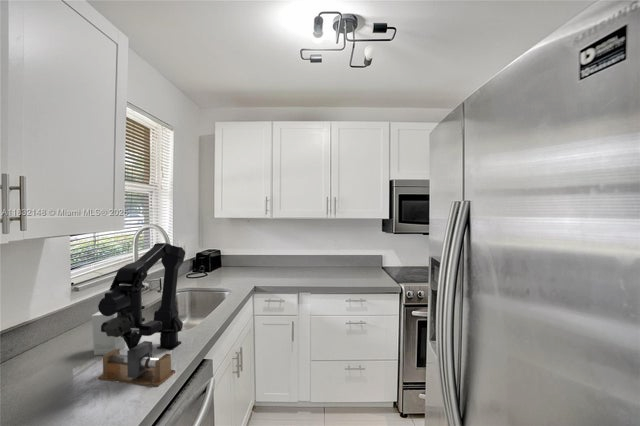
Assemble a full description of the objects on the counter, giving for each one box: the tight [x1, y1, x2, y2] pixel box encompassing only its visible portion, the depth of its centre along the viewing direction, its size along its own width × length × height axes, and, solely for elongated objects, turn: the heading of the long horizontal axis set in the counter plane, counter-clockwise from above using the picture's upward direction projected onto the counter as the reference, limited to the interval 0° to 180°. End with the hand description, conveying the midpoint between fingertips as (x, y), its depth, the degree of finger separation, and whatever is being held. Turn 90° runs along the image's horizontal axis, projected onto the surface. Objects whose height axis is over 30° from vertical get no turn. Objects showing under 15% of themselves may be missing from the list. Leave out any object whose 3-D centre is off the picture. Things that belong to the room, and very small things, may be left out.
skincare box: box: [91, 310, 126, 356], centre depth 116 cm, size 8×7×16 cm
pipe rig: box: [97, 349, 176, 388], centre depth 99 cm, size 22×8×7 cm, turn 79°
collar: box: [126, 340, 153, 378], centre depth 99 cm, size 3×7×8 cm, turn 169°
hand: (132, 352), depth 99 cm, fingers closed
